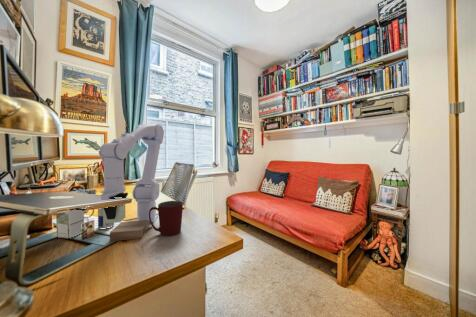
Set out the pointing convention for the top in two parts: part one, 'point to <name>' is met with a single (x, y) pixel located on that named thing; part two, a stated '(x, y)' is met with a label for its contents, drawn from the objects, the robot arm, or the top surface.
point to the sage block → (119, 215)
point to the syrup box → (69, 223)
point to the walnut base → (129, 230)
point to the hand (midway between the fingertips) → (114, 216)
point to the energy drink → (100, 220)
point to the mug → (169, 217)
